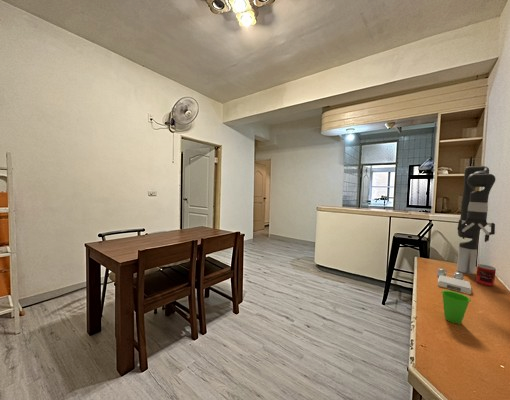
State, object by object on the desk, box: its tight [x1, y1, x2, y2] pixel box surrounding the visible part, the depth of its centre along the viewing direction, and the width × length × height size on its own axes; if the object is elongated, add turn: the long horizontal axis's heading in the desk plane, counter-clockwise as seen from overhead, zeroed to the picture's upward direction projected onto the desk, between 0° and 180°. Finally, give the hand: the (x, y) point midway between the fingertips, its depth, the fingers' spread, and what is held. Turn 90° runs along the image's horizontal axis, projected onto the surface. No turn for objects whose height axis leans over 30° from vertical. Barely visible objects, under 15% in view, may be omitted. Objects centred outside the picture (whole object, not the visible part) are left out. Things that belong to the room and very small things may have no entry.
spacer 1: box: [436, 267, 447, 278], centre depth 142 cm, size 4×4×5 cm
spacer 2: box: [453, 271, 465, 280], centre depth 136 cm, size 4×4×5 cm
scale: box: [437, 275, 472, 295], centre depth 127 cm, size 15×14×3 cm
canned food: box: [475, 263, 497, 288], centre depth 133 cm, size 8×8×11 cm
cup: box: [441, 289, 471, 325], centre depth 91 cm, size 9×9×11 cm
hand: (474, 240), depth 119 cm, fingers open, 8 cm apart
